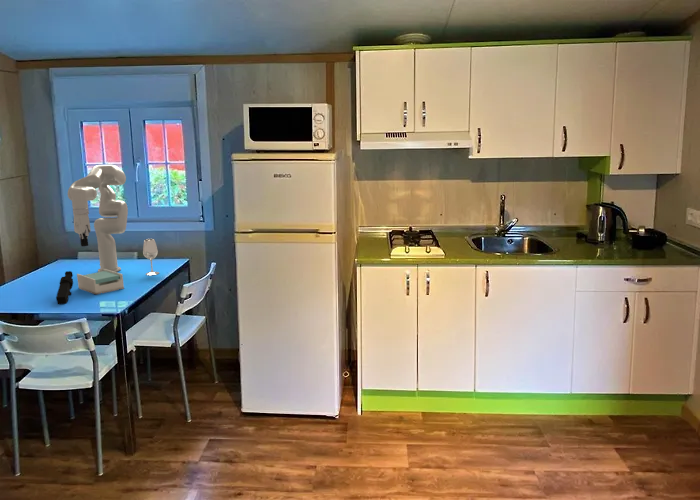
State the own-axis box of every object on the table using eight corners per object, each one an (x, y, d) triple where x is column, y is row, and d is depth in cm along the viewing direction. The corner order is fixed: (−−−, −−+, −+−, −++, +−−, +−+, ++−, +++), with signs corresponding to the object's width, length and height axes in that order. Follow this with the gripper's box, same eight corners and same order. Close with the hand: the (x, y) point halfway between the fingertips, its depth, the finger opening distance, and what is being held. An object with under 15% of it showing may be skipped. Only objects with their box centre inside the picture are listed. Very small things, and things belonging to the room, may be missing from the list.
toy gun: (77, 284, 312) (73, 268, 308) (70, 311, 291) (66, 294, 287) (65, 285, 311) (62, 269, 306) (57, 312, 290) (53, 295, 285)
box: (78, 288, 317) (76, 273, 315) (106, 282, 327) (104, 268, 326) (95, 294, 303) (94, 279, 302) (123, 288, 314) (122, 274, 312)
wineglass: (155, 275, 341) (152, 241, 336) (142, 275, 342) (139, 240, 338) (162, 272, 348) (159, 238, 344) (149, 272, 350) (146, 238, 346)
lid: (81, 279, 315) (80, 275, 315) (105, 274, 324) (104, 270, 324) (94, 284, 304) (94, 280, 304) (119, 279, 314) (118, 275, 313)
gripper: (67, 211, 319) (71, 245, 322) (80, 213, 309) (83, 248, 312) (81, 210, 324) (85, 243, 328) (94, 212, 314) (97, 246, 318)
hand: (84, 245), depth 320 cm, fingers closed
